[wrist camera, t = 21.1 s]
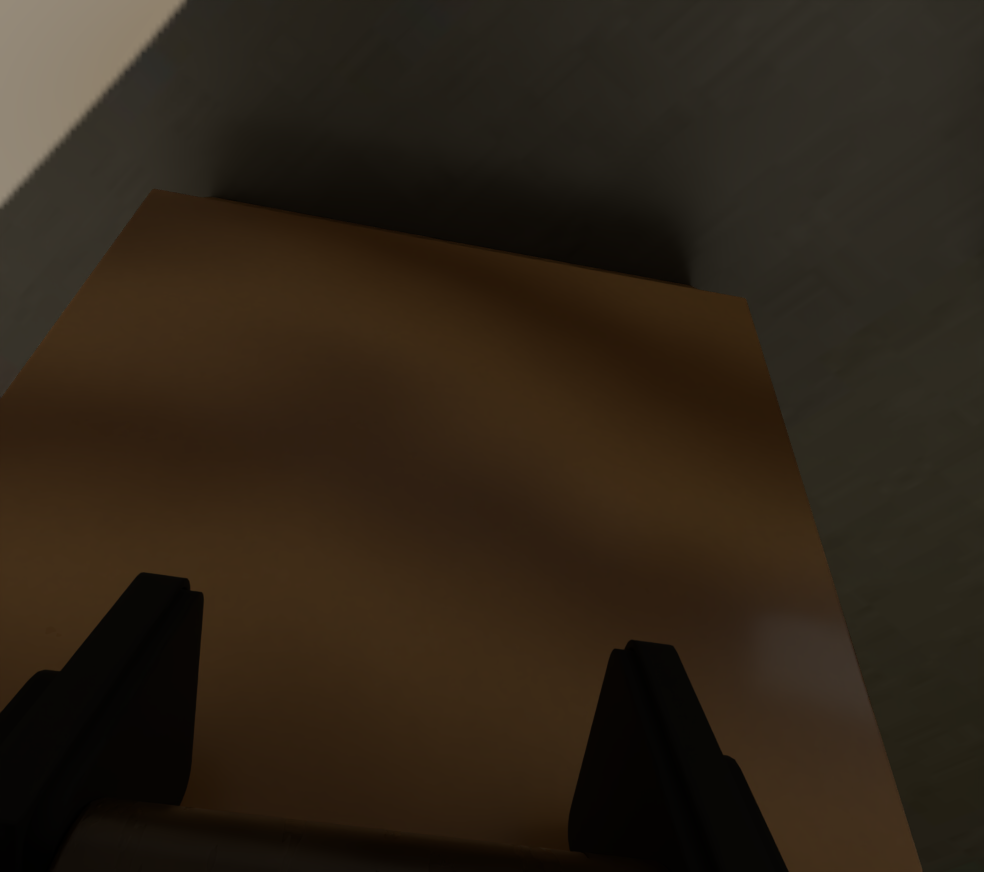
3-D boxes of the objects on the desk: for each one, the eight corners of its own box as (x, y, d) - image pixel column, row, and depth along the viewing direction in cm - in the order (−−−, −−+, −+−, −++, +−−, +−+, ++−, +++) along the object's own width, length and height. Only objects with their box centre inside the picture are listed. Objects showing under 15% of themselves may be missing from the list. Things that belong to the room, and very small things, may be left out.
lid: (1014, 1310, 9) (1481, 1358, 5) (-527, 1211, 7) (-1240, 1197, 4) (734, 321, 22) (819, 149, 19) (155, 215, 21) (128, 7, 17)
